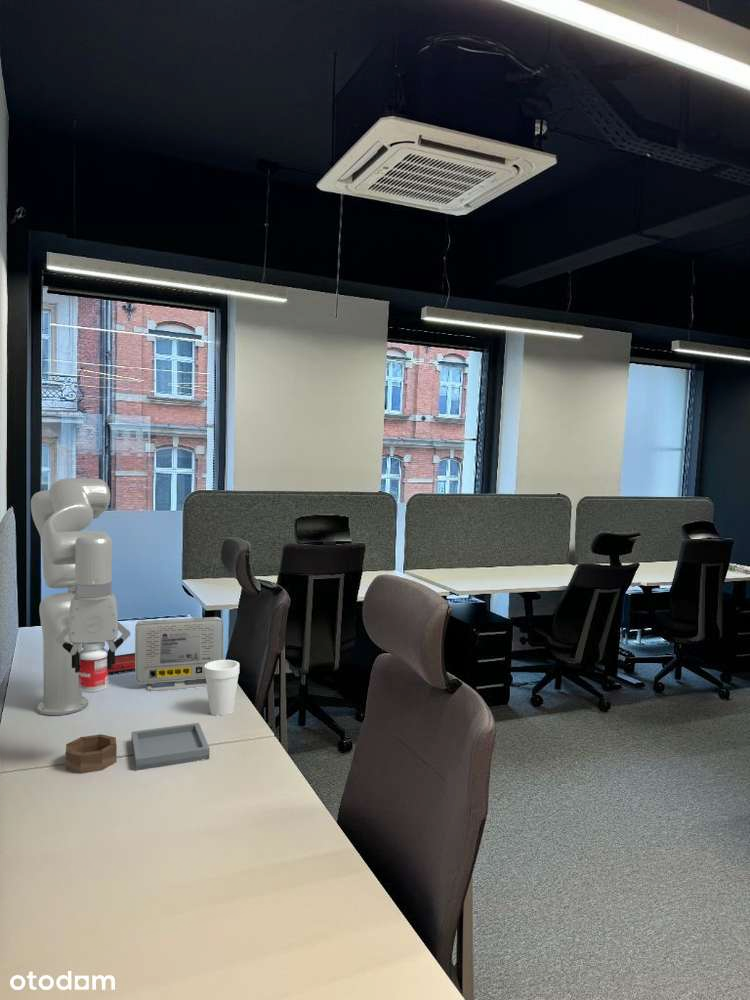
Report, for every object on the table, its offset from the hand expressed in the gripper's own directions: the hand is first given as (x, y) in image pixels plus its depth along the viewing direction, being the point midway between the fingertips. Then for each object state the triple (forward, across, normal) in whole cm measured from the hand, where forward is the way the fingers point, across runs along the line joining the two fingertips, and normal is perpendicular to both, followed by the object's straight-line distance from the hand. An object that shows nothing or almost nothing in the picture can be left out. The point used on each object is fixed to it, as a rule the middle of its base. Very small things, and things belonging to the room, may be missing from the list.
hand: (93, 668), depth 148 cm
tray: (+21, +16, 0) cm, 27 cm away
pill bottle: (+5, 0, 0) cm, 5 cm away
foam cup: (+22, +32, +20) cm, 44 cm away
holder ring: (+21, 0, 0) cm, 21 cm away
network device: (+22, +24, +46) cm, 56 cm away
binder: (+23, +6, +71) cm, 75 cm away
